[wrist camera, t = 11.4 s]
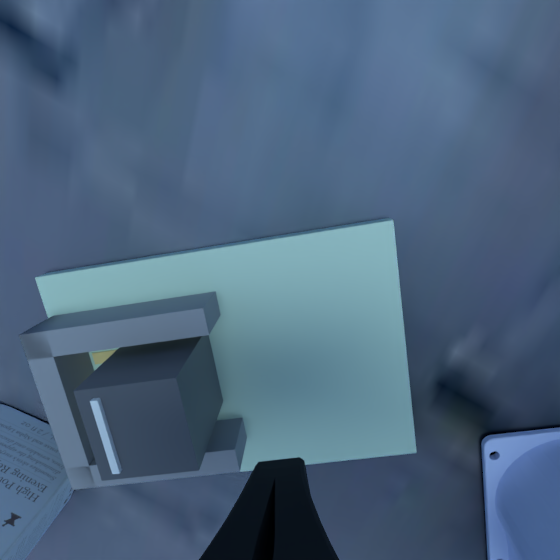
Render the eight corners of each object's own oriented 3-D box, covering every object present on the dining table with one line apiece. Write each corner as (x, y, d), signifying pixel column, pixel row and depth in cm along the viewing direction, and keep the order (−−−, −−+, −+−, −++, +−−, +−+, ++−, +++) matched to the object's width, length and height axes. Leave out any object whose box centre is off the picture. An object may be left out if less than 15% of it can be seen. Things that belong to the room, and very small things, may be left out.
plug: (223, 401, 21) (197, 474, 16) (147, 410, 21) (99, 484, 16) (207, 327, 20) (174, 380, 15) (128, 338, 20) (70, 393, 15)
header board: (411, 440, 22) (431, 489, 18) (110, 473, 23) (78, 524, 20) (388, 217, 19) (407, 227, 15) (47, 272, 20) (-3, 292, 17)
